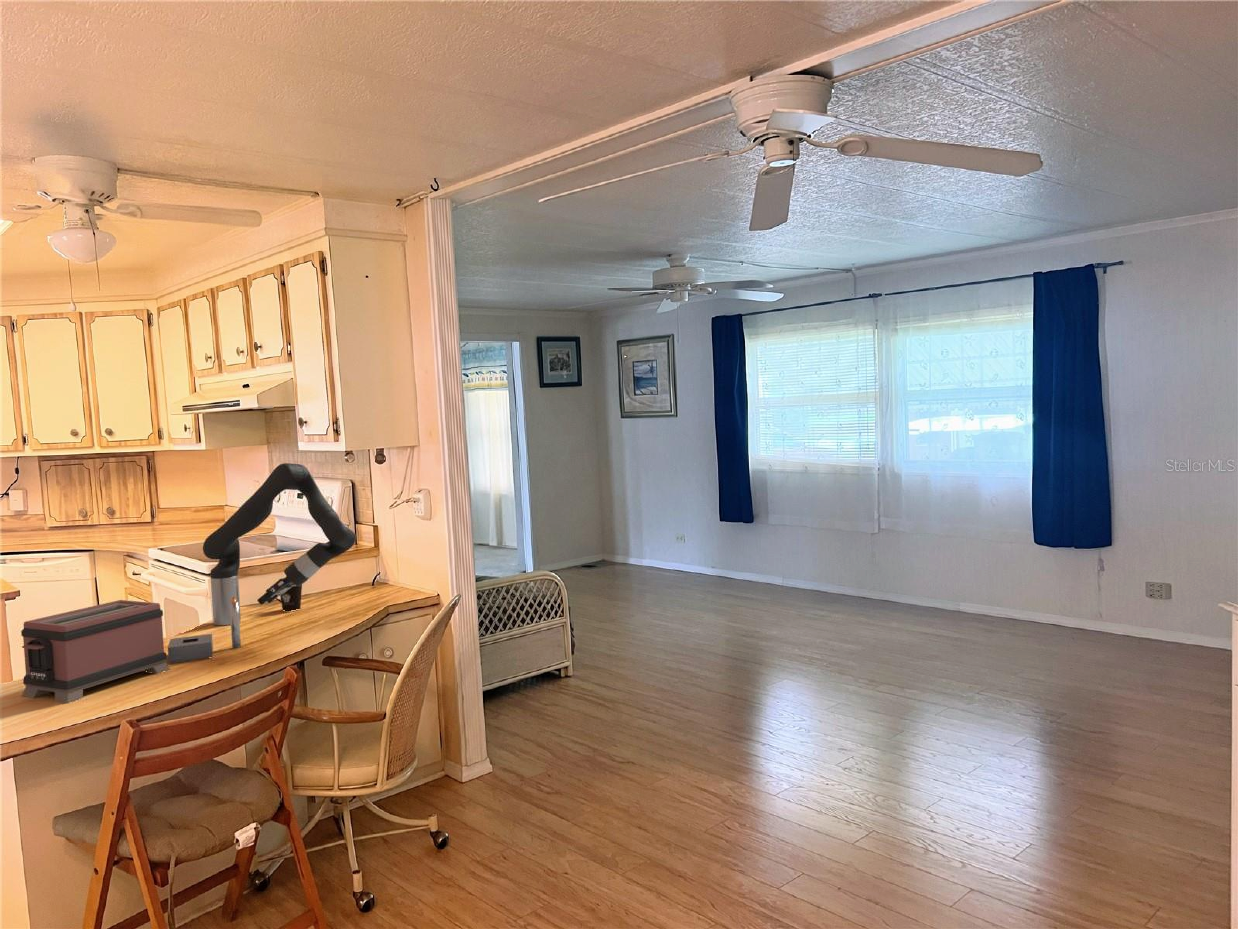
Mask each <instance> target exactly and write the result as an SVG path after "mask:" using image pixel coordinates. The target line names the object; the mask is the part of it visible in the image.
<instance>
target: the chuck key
mask: <svg viewBox="0 0 1238 929" xmlns="http://www.w3.org/2000/svg"><path fill="white" fill-rule="evenodd" d="M230 618H231V624H230V631H231V632H230V633H231V649H239V648H238V647H240V648H241V647H242V644H241V643H242V642H241V625H240V624H241V623H240V622H241V621H240V622H239V604H238V602H236V598H235V597H233V598H232V602H231V603H230Z"/></svg>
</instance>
